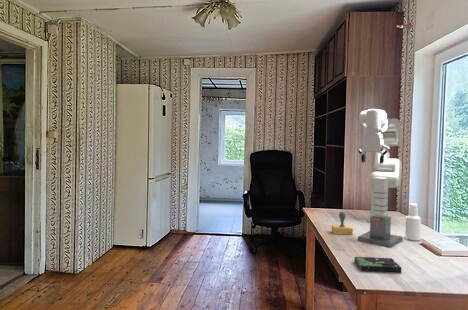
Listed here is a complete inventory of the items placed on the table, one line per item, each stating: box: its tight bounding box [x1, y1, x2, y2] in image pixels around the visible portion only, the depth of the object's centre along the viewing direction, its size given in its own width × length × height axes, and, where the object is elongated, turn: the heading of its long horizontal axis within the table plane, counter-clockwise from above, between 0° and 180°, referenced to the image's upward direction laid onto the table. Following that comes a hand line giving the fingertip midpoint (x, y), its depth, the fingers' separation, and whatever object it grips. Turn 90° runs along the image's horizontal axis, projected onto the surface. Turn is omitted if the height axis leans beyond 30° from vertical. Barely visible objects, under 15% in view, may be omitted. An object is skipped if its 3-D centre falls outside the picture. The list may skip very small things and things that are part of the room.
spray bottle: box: [405, 202, 422, 241], centre depth 168 cm, size 7×7×18 cm
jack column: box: [373, 177, 389, 219], centre depth 164 cm, size 5×5×22 cm
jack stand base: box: [357, 215, 403, 248], centre depth 165 cm, size 16×16×12 cm
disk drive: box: [354, 256, 402, 274], centre depth 129 cm, size 10×3×15 cm
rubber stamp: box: [331, 211, 354, 236], centre depth 178 cm, size 10×6×12 cm, turn 84°
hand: (372, 162), depth 182 cm, fingers open, 9 cm apart
